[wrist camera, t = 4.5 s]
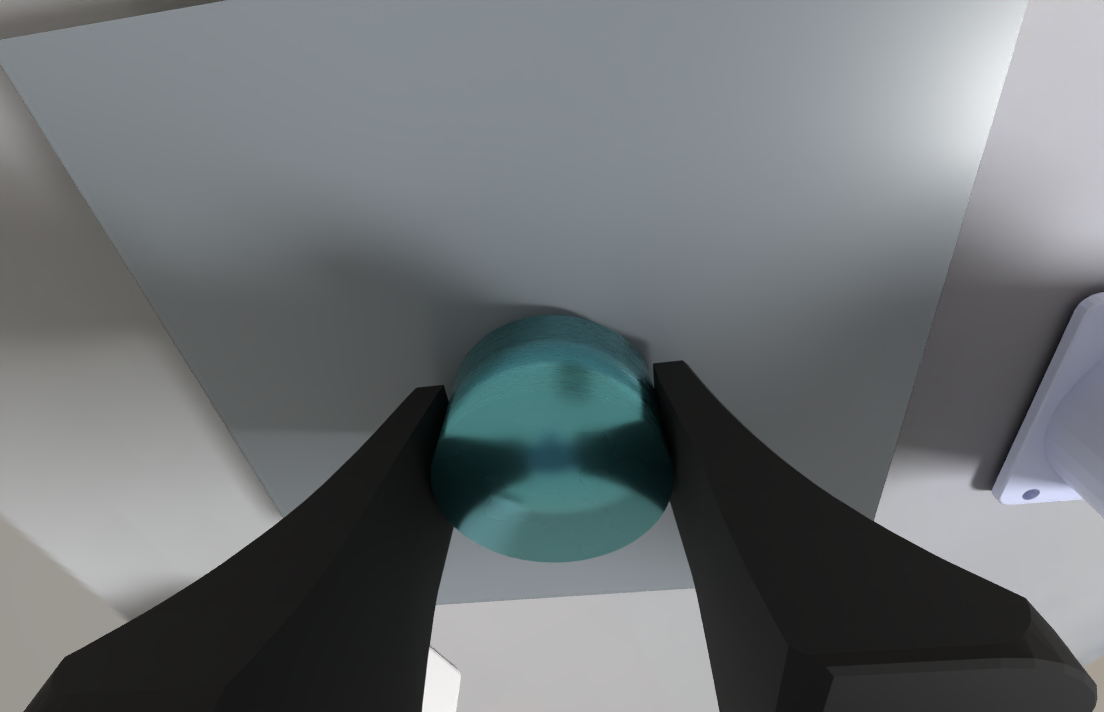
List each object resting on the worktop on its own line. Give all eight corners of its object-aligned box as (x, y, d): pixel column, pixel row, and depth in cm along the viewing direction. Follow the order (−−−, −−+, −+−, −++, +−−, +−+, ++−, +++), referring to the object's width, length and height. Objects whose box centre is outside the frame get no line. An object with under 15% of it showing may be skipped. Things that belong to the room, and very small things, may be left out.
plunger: (629, 233, 14) (672, 378, 8) (637, 373, 16) (674, 554, 11) (460, 254, 14) (399, 405, 9) (493, 387, 16) (461, 570, 11)
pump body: (922, -103, 10) (1072, -148, 7) (810, 487, 19) (856, 577, 16) (134, 32, 11) (-14, 41, 8) (373, 522, 20) (341, 611, 17)
